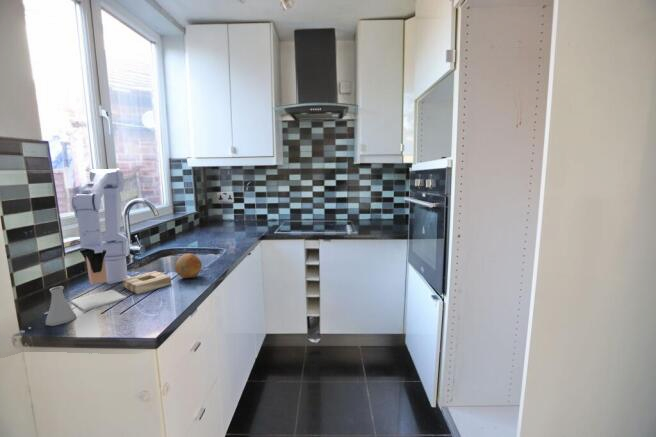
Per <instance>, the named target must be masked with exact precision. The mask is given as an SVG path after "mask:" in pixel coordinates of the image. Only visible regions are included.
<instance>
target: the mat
mask: <svg viewBox="0 0 656 437" xmlns="http://www.w3.org/2000/svg"><path fill="white" fill-rule="evenodd" d="M126 299H127V296H125V295H124V294H121V293H120V292H118V291H116V290H114V289H108V290H105V291H100V292H98V293H93V294H90V295H86V296H82V297H79V298H75V299H72V300H71V301H70V302H71V303H72V304H74V306H76V307H77V308H79V309H80V310H81V311H83V312H86V311H89V310H93V309H96V308H99V307H102V306H106V305H109V304H112V303H116V302H119V301H123V300H126Z"/></svg>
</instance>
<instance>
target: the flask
mask: <svg viewBox="0 0 656 437" xmlns="http://www.w3.org/2000/svg"><path fill="white" fill-rule="evenodd" d="M63 291H64V286H62V285H59V286H55V287H52V288H49V292H50V293H51V294H50V295H51V300H50V305H49V310H48V313H47V316H46V320H45V326H48V327H49V326H51V327H55V326H59V325H63V324H64V325H65V324H66V323H70V322H72V321H73V320H76V319H77V314H76V313H75V311H74V310H73V308H72V307H71V305H70V304H69V302H68V301H67V299H66V297H65V295H64V292H63Z"/></svg>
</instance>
